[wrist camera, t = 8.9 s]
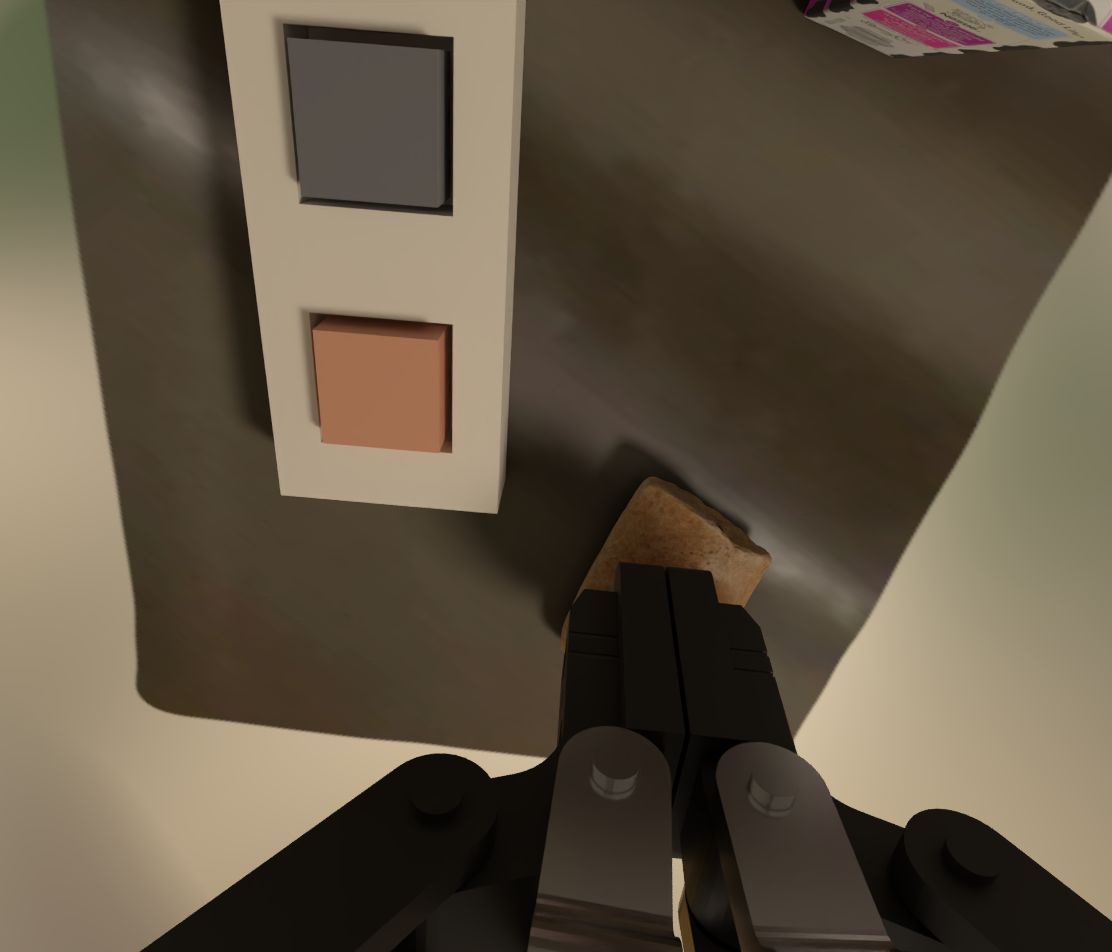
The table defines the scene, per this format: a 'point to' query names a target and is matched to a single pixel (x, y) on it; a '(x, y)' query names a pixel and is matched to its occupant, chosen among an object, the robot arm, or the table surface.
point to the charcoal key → (371, 121)
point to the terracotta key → (383, 382)
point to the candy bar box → (965, 24)
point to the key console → (385, 243)
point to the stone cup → (678, 544)
